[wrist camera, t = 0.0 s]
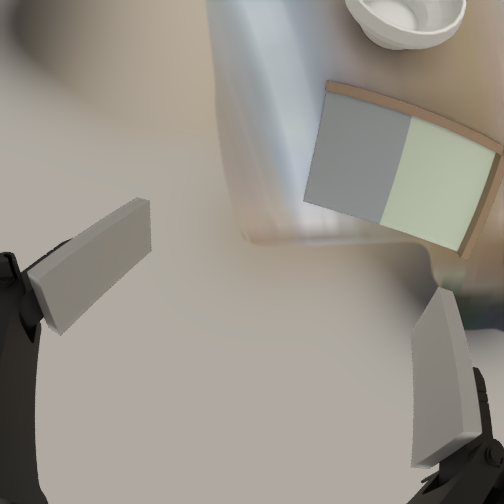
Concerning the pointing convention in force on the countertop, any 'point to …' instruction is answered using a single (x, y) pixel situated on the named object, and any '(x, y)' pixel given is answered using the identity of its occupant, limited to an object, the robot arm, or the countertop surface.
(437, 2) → the cup
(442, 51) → the countertop surface
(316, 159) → the rail board
